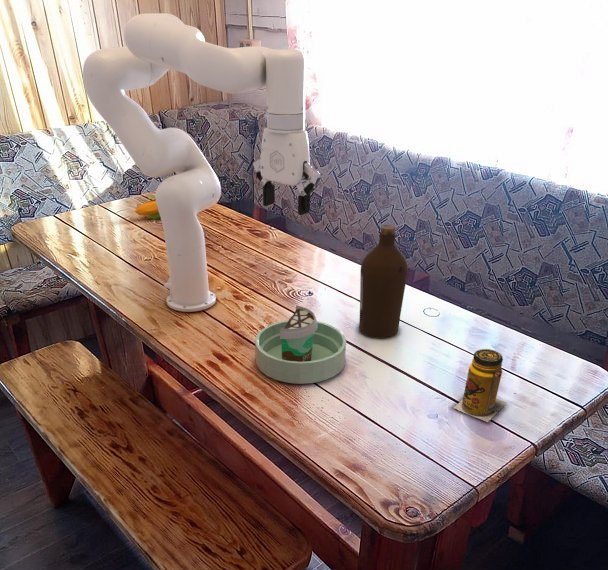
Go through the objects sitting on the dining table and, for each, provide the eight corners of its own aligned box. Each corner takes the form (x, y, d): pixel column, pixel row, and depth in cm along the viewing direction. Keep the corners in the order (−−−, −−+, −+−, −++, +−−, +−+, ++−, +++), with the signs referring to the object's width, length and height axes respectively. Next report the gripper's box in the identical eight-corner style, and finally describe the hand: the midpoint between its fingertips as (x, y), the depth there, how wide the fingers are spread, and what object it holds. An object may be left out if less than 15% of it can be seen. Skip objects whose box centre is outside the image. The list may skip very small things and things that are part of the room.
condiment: (452, 408, 116) (463, 355, 109) (472, 390, 121) (483, 339, 114) (487, 423, 112) (500, 369, 105) (506, 404, 117) (520, 351, 110)
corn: (189, 192, 211) (138, 201, 201) (192, 213, 215) (142, 224, 205) (179, 189, 216) (128, 198, 206) (182, 210, 220) (132, 220, 210)
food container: (308, 376, 124) (309, 333, 118) (280, 371, 125) (279, 329, 119) (322, 348, 133) (324, 308, 128) (296, 344, 135) (296, 304, 129)
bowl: (237, 365, 128) (236, 342, 125) (293, 332, 141) (293, 311, 138) (308, 396, 118) (308, 373, 115) (361, 359, 131) (363, 337, 128)
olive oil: (405, 324, 145) (417, 222, 131) (394, 343, 137) (406, 237, 123) (363, 316, 148) (371, 216, 134) (350, 335, 140) (357, 230, 126)
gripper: (240, 119, 119) (244, 205, 129) (308, 130, 111) (307, 221, 120) (265, 114, 124) (267, 198, 134) (332, 124, 115) (328, 213, 125)
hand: (286, 209), depth 127 cm, fingers open, 9 cm apart
